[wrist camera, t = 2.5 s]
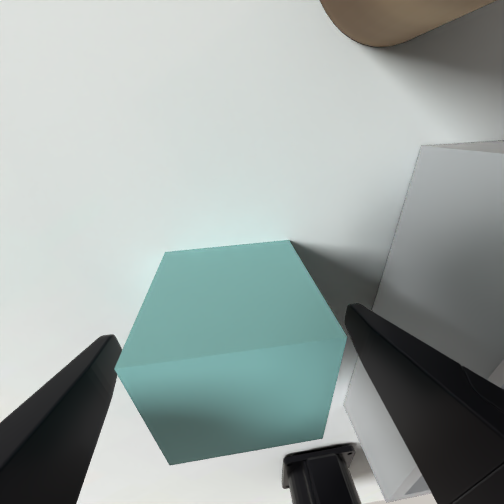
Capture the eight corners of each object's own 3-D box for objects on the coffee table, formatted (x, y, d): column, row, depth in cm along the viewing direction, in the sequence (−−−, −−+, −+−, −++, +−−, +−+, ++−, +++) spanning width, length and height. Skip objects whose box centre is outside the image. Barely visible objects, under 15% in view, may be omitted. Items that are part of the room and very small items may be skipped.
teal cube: (285, 324, 12) (322, 438, 7) (188, 336, 11) (169, 465, 7) (288, 239, 9) (347, 337, 5) (165, 250, 9) (114, 368, 5)
